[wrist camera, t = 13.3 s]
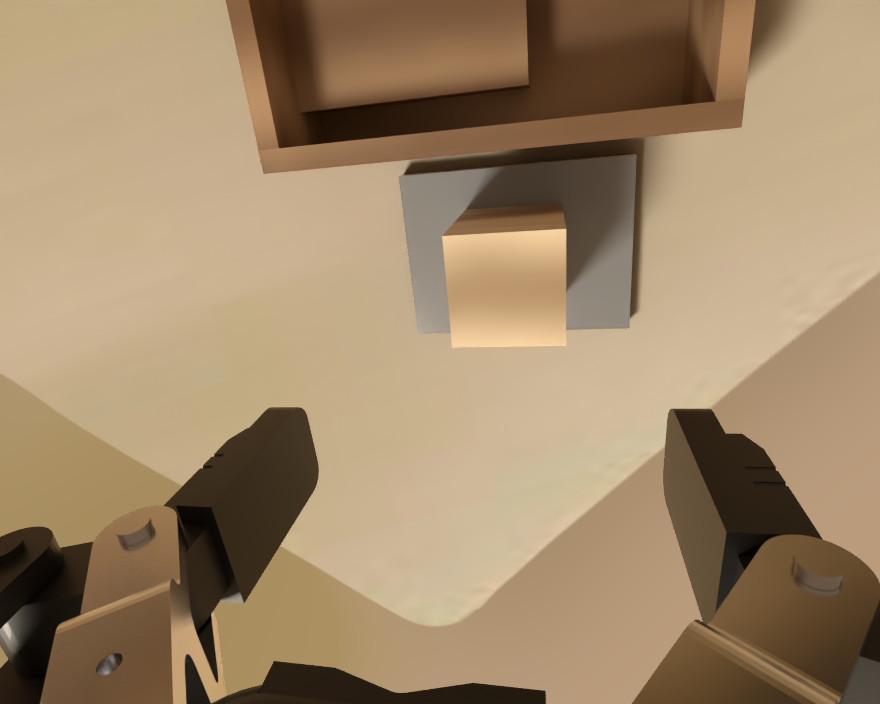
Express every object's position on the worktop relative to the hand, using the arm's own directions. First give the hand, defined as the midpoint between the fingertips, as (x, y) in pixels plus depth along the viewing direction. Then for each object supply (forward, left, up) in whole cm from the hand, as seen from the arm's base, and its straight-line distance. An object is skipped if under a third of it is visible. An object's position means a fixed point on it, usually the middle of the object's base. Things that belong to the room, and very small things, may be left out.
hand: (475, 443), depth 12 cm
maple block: (0, 0, -19) cm, 19 cm away
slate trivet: (0, 0, -20) cm, 20 cm away
